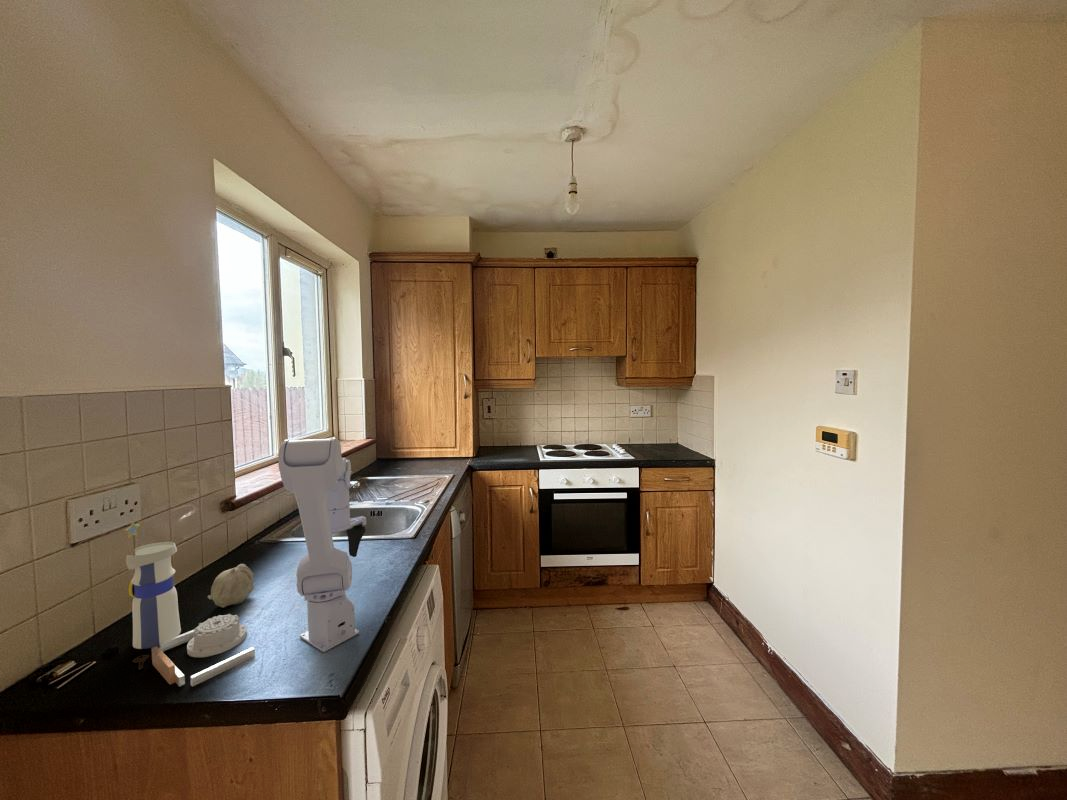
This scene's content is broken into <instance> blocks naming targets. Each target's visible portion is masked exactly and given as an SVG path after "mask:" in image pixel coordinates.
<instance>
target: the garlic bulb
mask: <svg viewBox="0 0 1067 800" xmlns="http://www.w3.org/2000/svg"><path fill="white" fill-rule="evenodd" d="M254 577H255V576H254V572H253V571H252V570H251V569H250V568H249V567H248V566H247V565H246V564H245V563H240V564H238V565H237V566H236V567H233V568H229V569H227V570H223V571H222V572H220V573H219V574H218V575H217V576H216V577H215V578H214V580H213V583H212V585H211V588H210V594H209V595H207V599H209V600H212V601H213V602H214V605H216V606H218V607H220V608H223V609H224V608H226V607H229V606H236V605H237V606H238V604H241V603H244V601H245V599H246V598H248V596H249V595H250V594H252V593H253V591H254V589H255V585H254V581H255V579H254Z"/></svg>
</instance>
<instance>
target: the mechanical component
mask: <svg viewBox="0 0 1067 800" xmlns="http://www.w3.org/2000/svg"><path fill="white" fill-rule="evenodd" d="M239 618H240V617H239V615H238V614H235V615H233V614H231V613H228V614H224V615H221V614H219V615H217V616H216V615H215V616H212V617H211V618H210V617H209V618H207V620H205V621H203V622H199V623H198V626H196V627H195V628H194V629H193V630H194V637H193V638H192V639H191V640H190V641H188V642H187V645H186V652H187V655H188V656H189V657H192V658H207V657H212V656H214V655H215V656H216V655H218V654H222V653H225V652H226V651H229V650H231V649H233V648H234V647H237V646H238V645H239V644H241V643H242V642H243V641H244V640H245V638H246V637H247V634H248V633H247V632H248V631H247V627H246V625H244V624H243V623H240V619H239Z"/></svg>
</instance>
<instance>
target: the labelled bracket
mask: <svg viewBox="0 0 1067 800" xmlns="http://www.w3.org/2000/svg"><path fill="white" fill-rule="evenodd" d="M193 637H194V629H192V630H189V631H187V632H184V633H182V634H179V635H178V636H177V637H174V638H171V639H169V640H166V641H164V642H161V643H159V645H158V646H155V647H151V648H150V649H151V660H152V661H151V662H152V663H151V664H152V666H153V667H154V668H155V669H156V670H157V672H158V673H160V675H161V676H162V678H164V680H165V681H166V682H167V684H169V685H172V684H177V686H178V687H182V686H184V685H185V684H186V677H185V674H184V673H183V672H182V671H181V670H180V669H179V668H178V666H176V665H175V663H174V662H173V661H172V660H171V659H170V658H169V657H168V656H167V655H166V654H165V653H164V652H166V651H168V650H170V649H174V648H176V647H178V646H180V645H182V644H185V643H188V642H189V641H190V640H191V639H192V638H193ZM255 650H256V649H255V648H254V647H253V646H252V647H250V648H248V649H246V650H243V651H241V652H240V653H239V652H238V653H236V654H235V655H233V656H230V657H229V658H226V659H225V660H222V661H220V662H218V663H216V664H214V665H211V666H209V667H208V668H205V669H203V670H201V671H199V672H197V673H195V674H192V675H190V686H191V687H195V686H197V685H199V684H201V683H204V682H205V681H207V680H209V679H211V678H213V677H215V676H217V675H219V674H222V673H223V672H226V671H228V670H230V669H232V668H234V667H236V666H238V665H240V664H243V663H245V662H247V661H249V660H250V659H252V658H255V657H256V654H255V653H256V652H255Z"/></svg>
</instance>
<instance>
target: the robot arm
mask: <svg viewBox="0 0 1067 800" xmlns="http://www.w3.org/2000/svg"><path fill="white" fill-rule="evenodd" d="M277 461H278V463H277V465H278V470H279V474H280V478H281V483H282V484H283V488H284V490H286V491H288V492H289V493H292V494H294V498H295V500H296V503H297V508H298V513H299V518H300V521H301V525H302V530H303V535H304V540H305V545H306V550H307V553H306V554H305V555H303V556H302V557H301V559H300V561H299V562H298V566H297V569H296V589H297V593H298V594H299V595H300V596H301V597H304V601H305V602H306V604H307V605H306V608H307V628H308V629H307V630H306V631H304V632H302V633H300V635H299V638H300V639H302V640H303V641H305V642H307V643H309V644H310V645H311V646H313V647H314V648H316V649H317V650H319V651H320V652H323V653H326V652H327V651H329V650H331V649H333V648H335V647H336V646H338V645H340V644H341V643H343V642H346V641H347V640H348V639H351V638H353V637H354V636H356V635H359V633H360V630H359V629H357V628H356V621H355V619H356V617H355V606H354V603H353V602H352V601H351V600H349V598H348V597H347V594H346V591H348V590H349V589H350V587H351V586H352V581H353V580H352V579H353V565H352V561H351V559H350V557H353V558H356V557H357V555H358V550H359V546H360V544H361V541H362V538H363V536H364V534H365V532H366V527H365V526H366V525H367V517H366V516H363V515H361V516H356V517H351V512H350V511H351V510H350V509H351V508H350V507H351V506H350V505H351V504H350V486H351V475H352V466H351V465H352V464H351V460H350V459H347V457H342V443H341V442H340V440H339V439H338V438H337V437H332V438H321V439H320V438H319V439H318V438H317V439H299V440H298V439H295V440H290V439H284V440H283V441H282V443H281V444H280V446H279V449H278V460H277ZM343 531H346V535H347V541H348V552H346V551H343V550H341V549H339V548H335V546H334V539H333V535H334V534H338V533H340V532H343ZM348 553H349V555H348Z"/></svg>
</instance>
